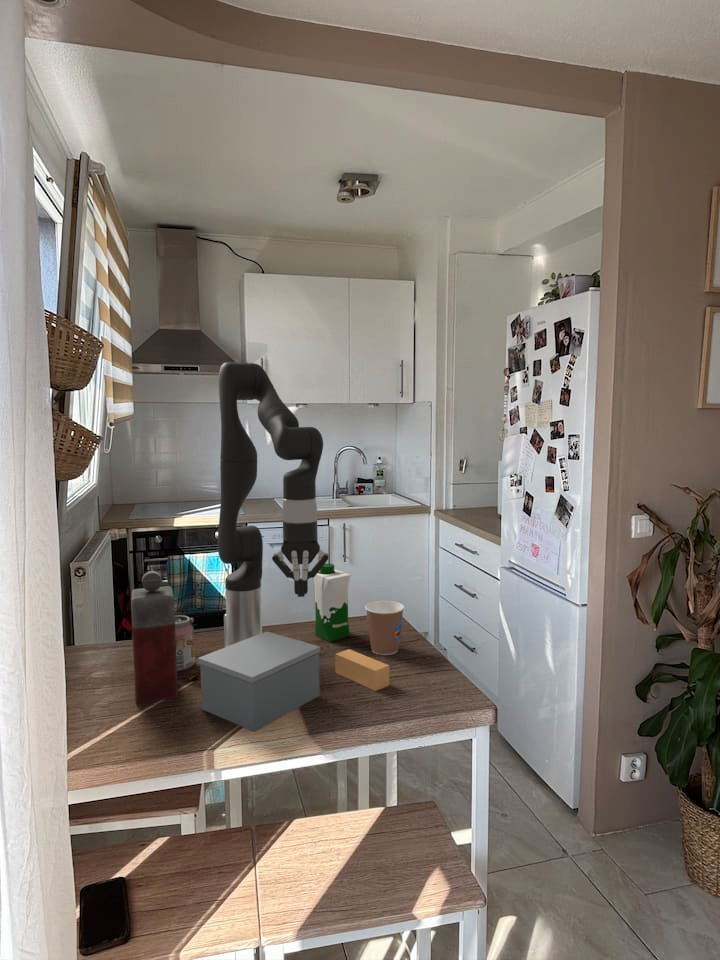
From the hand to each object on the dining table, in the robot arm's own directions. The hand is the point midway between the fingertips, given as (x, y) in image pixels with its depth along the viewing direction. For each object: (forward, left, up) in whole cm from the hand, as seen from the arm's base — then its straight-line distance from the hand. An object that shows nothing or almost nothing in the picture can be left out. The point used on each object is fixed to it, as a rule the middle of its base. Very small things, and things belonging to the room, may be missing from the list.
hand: (301, 595), depth 144 cm
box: (-4, -9, -23) cm, 25 cm away
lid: (-4, -9, -12) cm, 16 cm away
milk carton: (-18, +32, -23) cm, 44 cm away
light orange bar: (+6, +14, -23) cm, 28 cm away
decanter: (-28, -19, -23) cm, 41 cm away
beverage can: (-36, -7, -23) cm, 43 cm away
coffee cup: (0, +32, -23) cm, 40 cm away
